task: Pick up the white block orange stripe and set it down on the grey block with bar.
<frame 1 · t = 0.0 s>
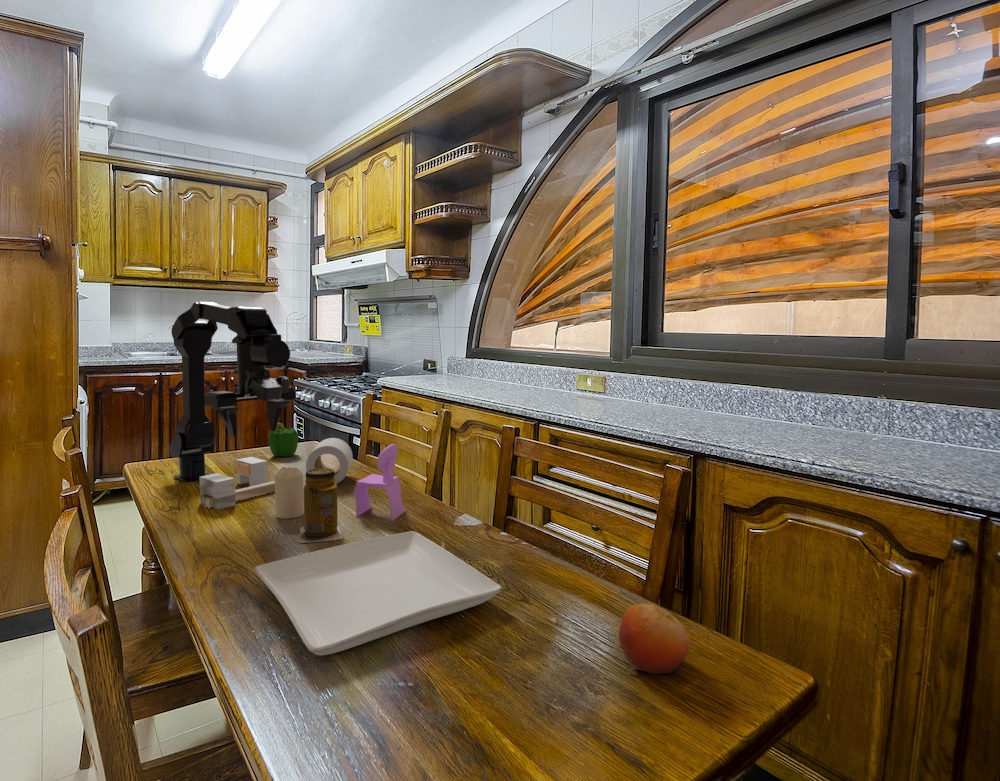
hand: (253, 434, 128), 15 cm above the table, tool pointing down, fingers open, 9 cm apart
fruit: (652, 666, 68), on the table
square plate: (374, 600, 84), on the table
bell pepper: (284, 456, 172), on the table
candle: (290, 515, 119), on the table
white block orange stripe: (252, 484, 141), on the table
toy chair: (380, 514, 120), on the table
toilet paper: (330, 481, 145), on the table
grey block with bar: (246, 497, 130), on the table
condiment: (320, 535, 108), on the table
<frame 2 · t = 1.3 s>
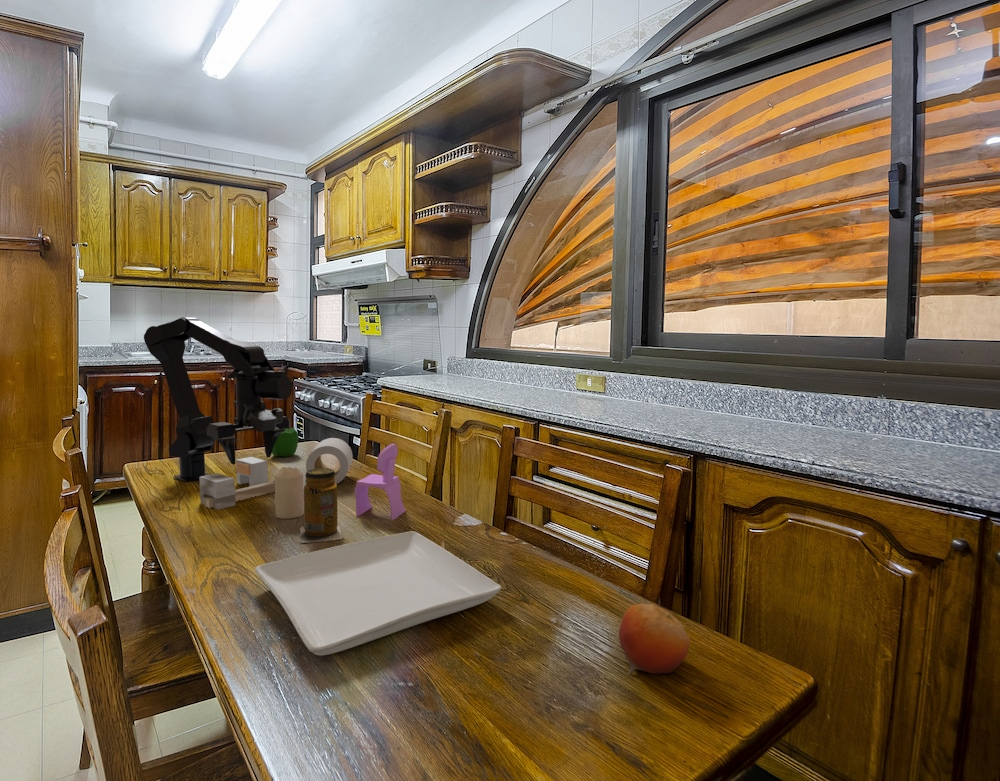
hand: (251, 460, 140), 6 cm above the table, tool pointing down, fingers open, 9 cm apart
nothing on the table moved.
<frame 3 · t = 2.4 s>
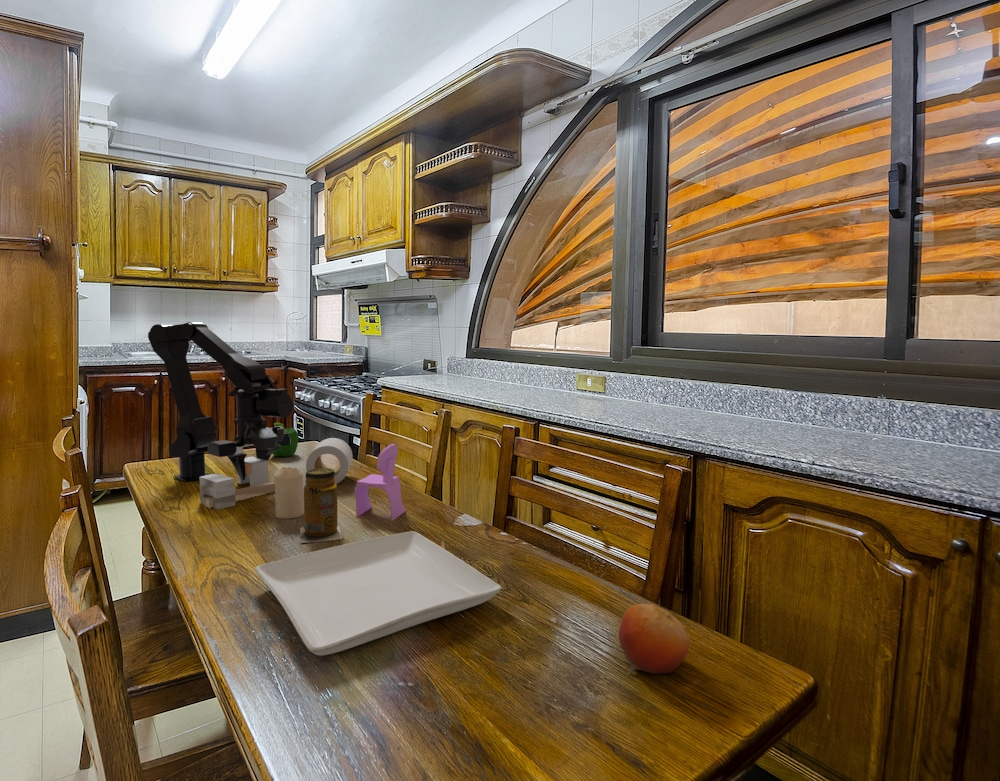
hand: (252, 478, 141), 2 cm above the table, tool pointing down, fingers closed on white block orange stripe, 4 cm apart
white block orange stripe: (253, 483, 141), on the table, touching gripper
everything else where it was.
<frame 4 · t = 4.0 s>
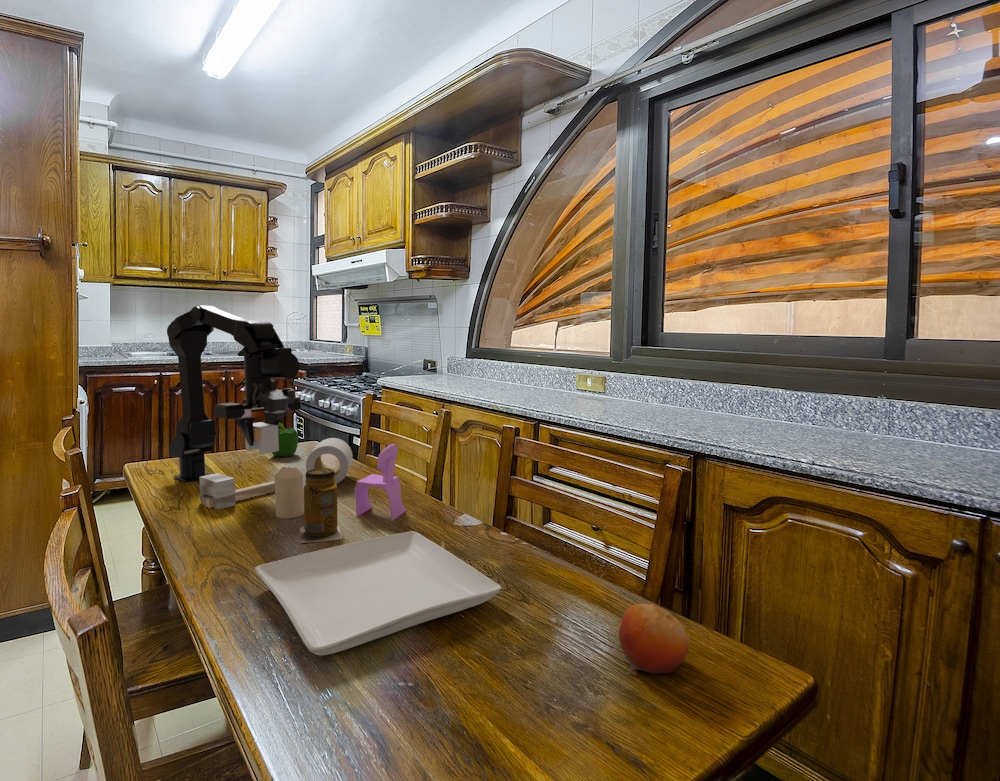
hand: (261, 444, 132), 12 cm above the table, tool pointing down, fingers closed on white block orange stripe, 4 cm apart
white block orange stripe: (262, 450, 132), point 10 cm above the table, touching gripper
everything else where it was.
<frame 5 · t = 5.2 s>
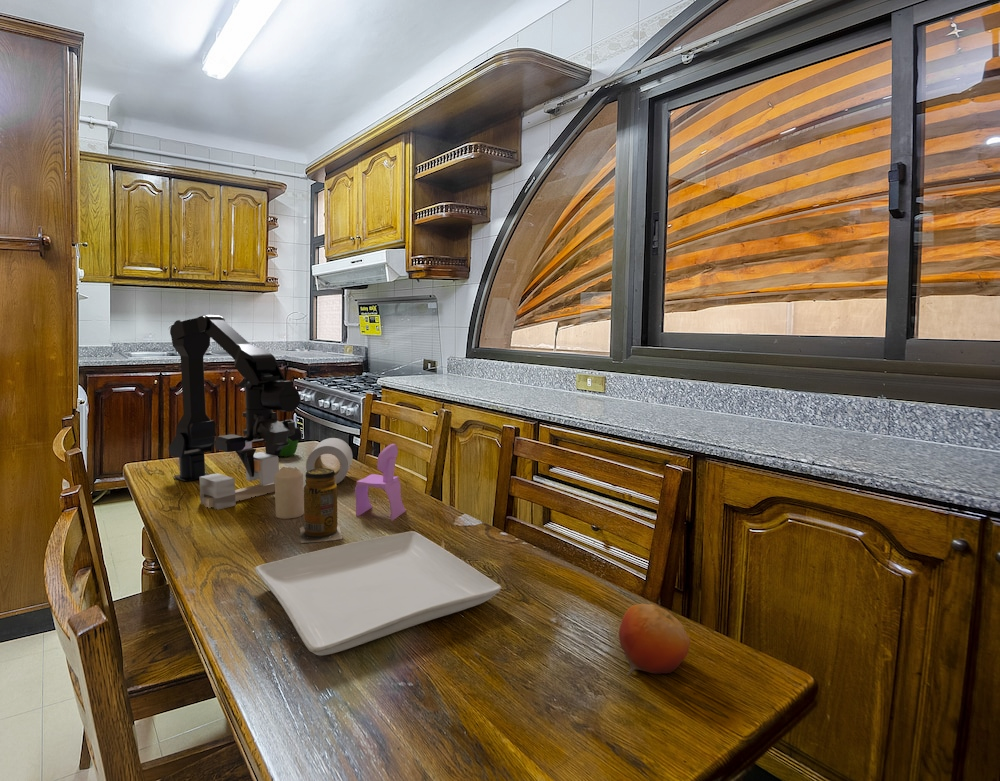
hand: (261, 474, 133), 4 cm above the table, tool pointing down, fingers closed on white block orange stripe, 4 cm apart
white block orange stripe: (262, 480, 133), point 3 cm above the table, touching gripper
everything else where it was.
when the fingers open (3 cm above the table, at t = 5.8 s): white block orange stripe drops 2 cm, resting in grey block with bar.
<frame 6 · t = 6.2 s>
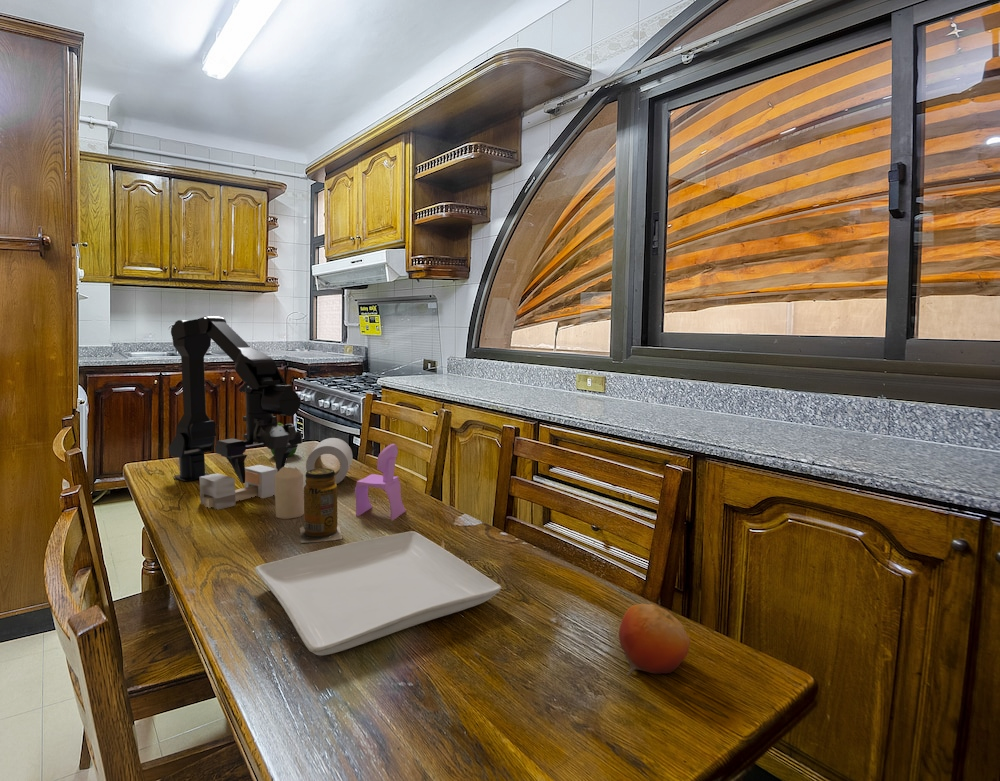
hand: (261, 478, 133), 3 cm above the table, tool pointing down, fingers open, 9 cm apart
white block orange stripe: (261, 493, 133), resting in grey block with bar
everything else where it was.
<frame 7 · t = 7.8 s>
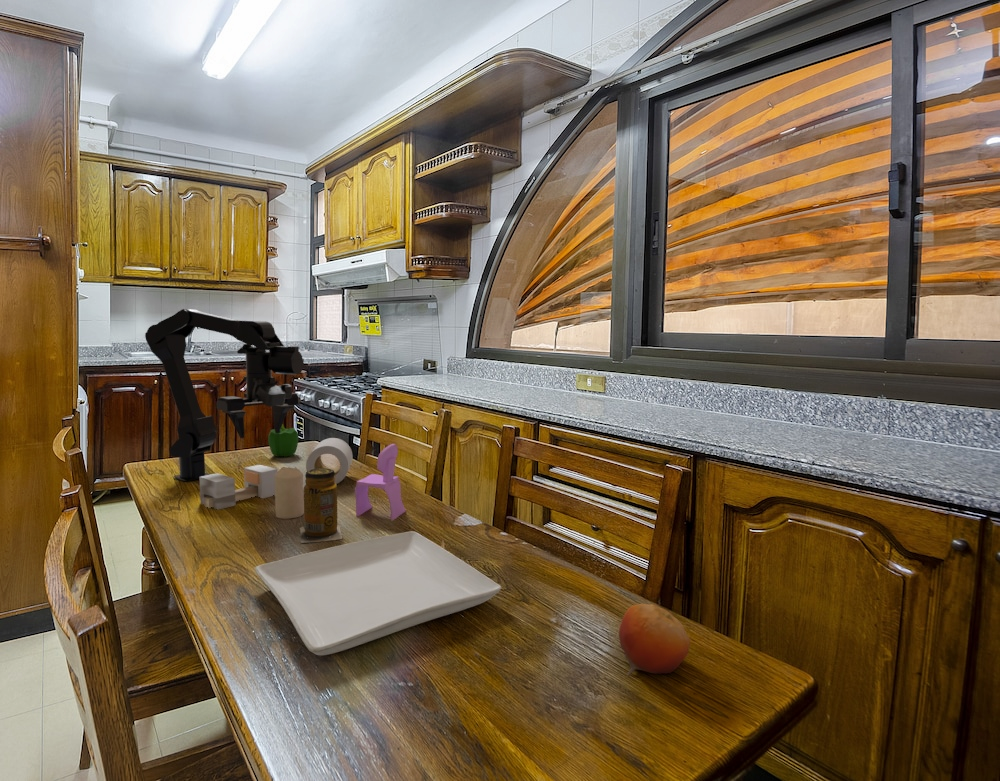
hand: (260, 435, 141), 12 cm above the table, tool pointing down, fingers open, 9 cm apart
nothing on the table moved.
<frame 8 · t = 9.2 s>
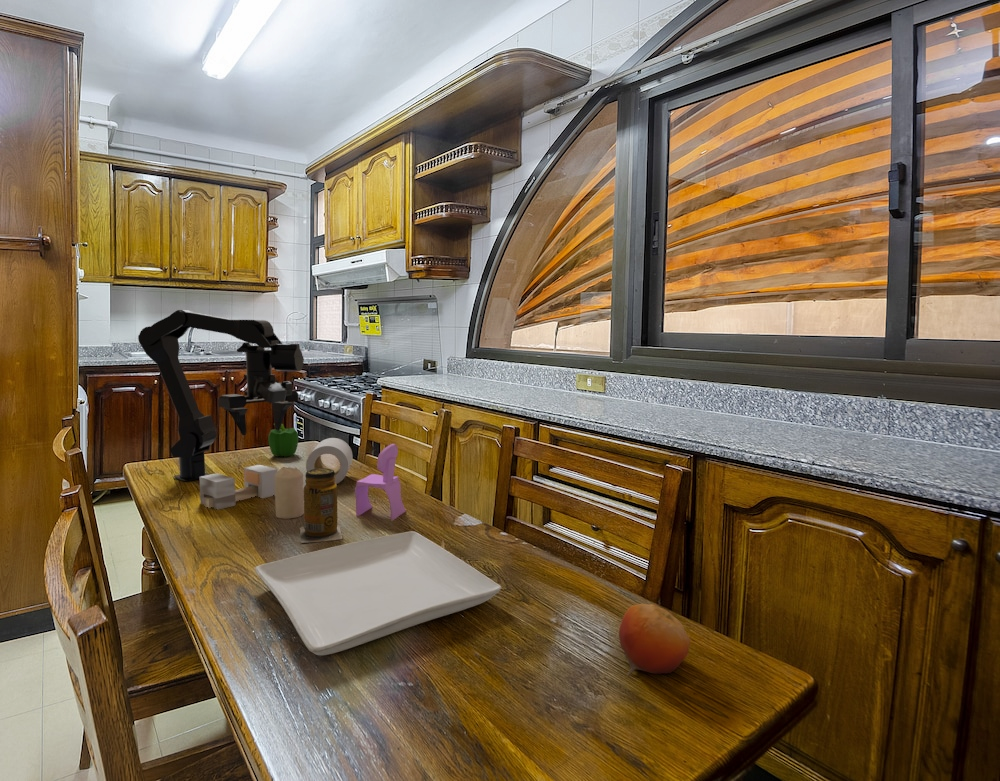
hand: (261, 432, 144), 12 cm above the table, tool pointing down, fingers open, 9 cm apart
nothing on the table moved.
at the end: white block orange stripe 0.2 cm from the target spot on the grey block with bar, point 0.0 cm above the grey block with bar's base; white block orange stripe tilted 0°; the gripper is holding nothing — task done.
